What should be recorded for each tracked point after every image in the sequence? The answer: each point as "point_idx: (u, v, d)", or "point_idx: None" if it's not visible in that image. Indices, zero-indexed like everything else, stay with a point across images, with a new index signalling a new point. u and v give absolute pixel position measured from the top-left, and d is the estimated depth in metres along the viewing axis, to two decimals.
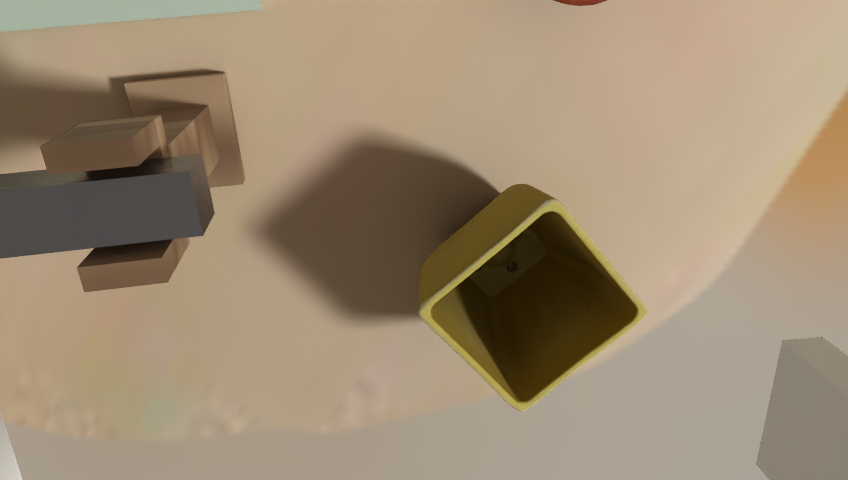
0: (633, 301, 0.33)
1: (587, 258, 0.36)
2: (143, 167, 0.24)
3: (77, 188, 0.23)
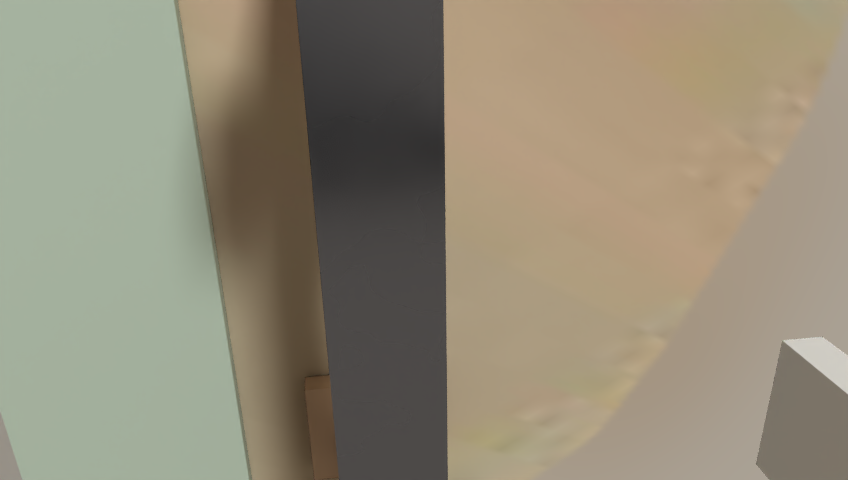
0: None
1: None
2: None
3: None
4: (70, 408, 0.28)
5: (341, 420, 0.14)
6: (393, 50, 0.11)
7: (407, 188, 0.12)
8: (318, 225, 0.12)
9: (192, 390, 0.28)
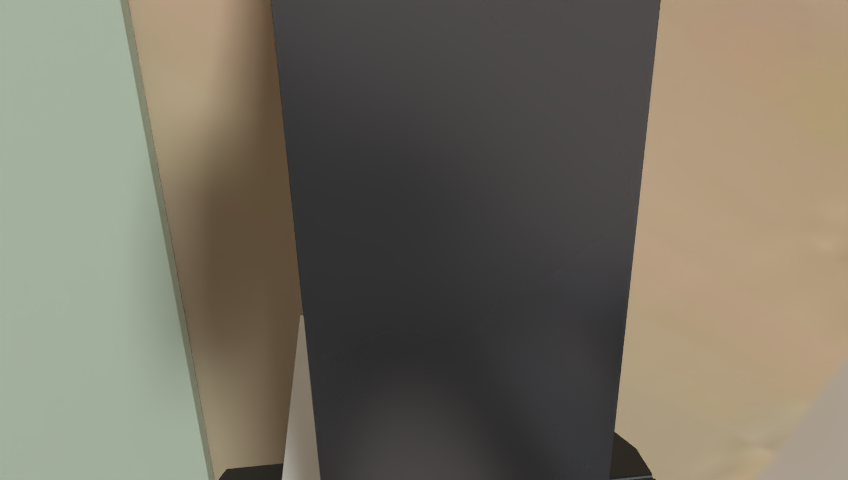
0: None
1: None
2: None
3: None
4: None
5: None
6: (520, 182, 0.05)
7: (530, 465, 0.06)
8: None
9: None
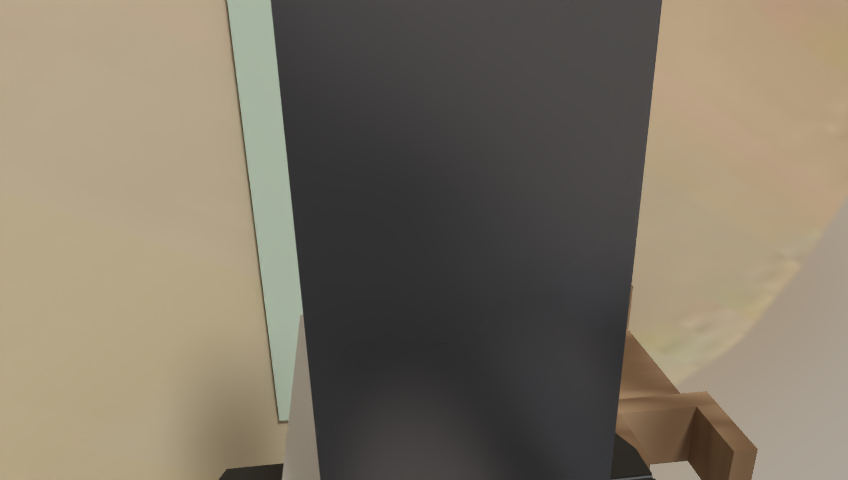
0: None
1: None
2: None
3: None
4: None
5: None
6: (520, 187, 0.05)
7: (530, 468, 0.06)
8: None
9: None
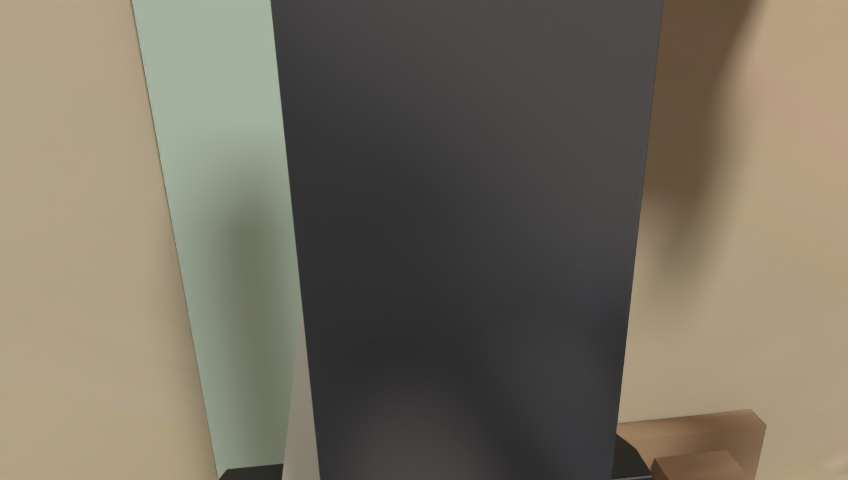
0: None
1: None
2: None
3: None
4: None
5: None
6: (520, 188, 0.05)
7: (530, 471, 0.06)
8: None
9: None
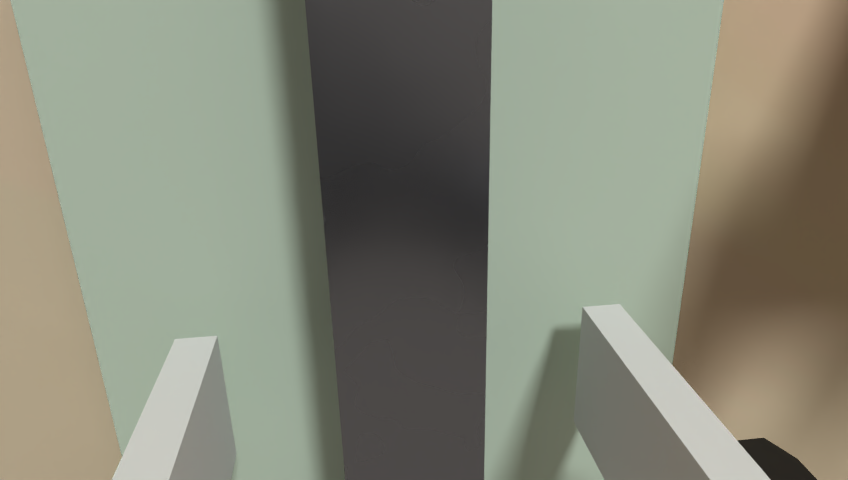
0: None
1: None
2: None
3: None
4: None
5: None
6: (427, 82, 0.09)
7: (442, 249, 0.10)
8: (332, 294, 0.10)
9: None
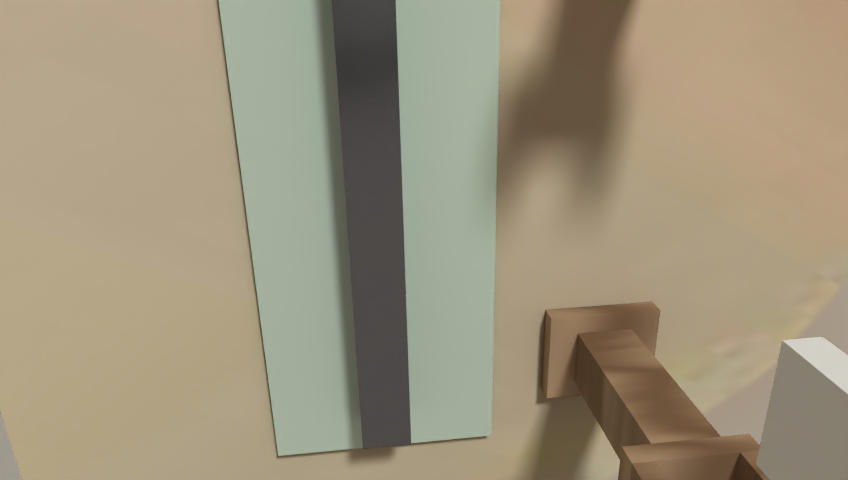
0: None
1: None
2: None
3: None
4: None
5: (349, 203, 0.29)
6: (373, 16, 0.26)
7: (380, 81, 0.27)
8: (339, 98, 0.27)
9: (460, 317, 0.34)
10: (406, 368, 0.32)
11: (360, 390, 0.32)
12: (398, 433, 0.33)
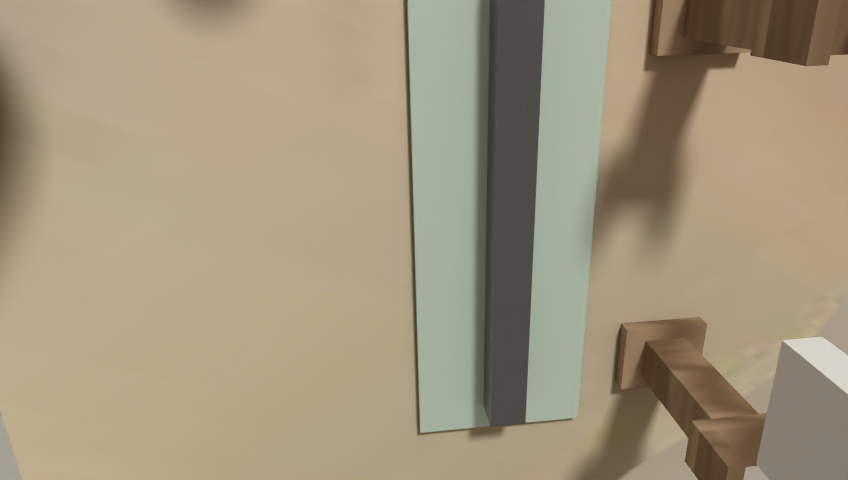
0: None
1: None
2: None
3: (502, 37, 0.36)
4: None
5: (497, 251, 0.41)
6: (523, 128, 0.38)
7: (525, 169, 0.39)
8: (496, 181, 0.39)
9: (560, 330, 0.46)
10: (526, 367, 0.44)
11: (492, 383, 0.44)
12: (517, 414, 0.46)
